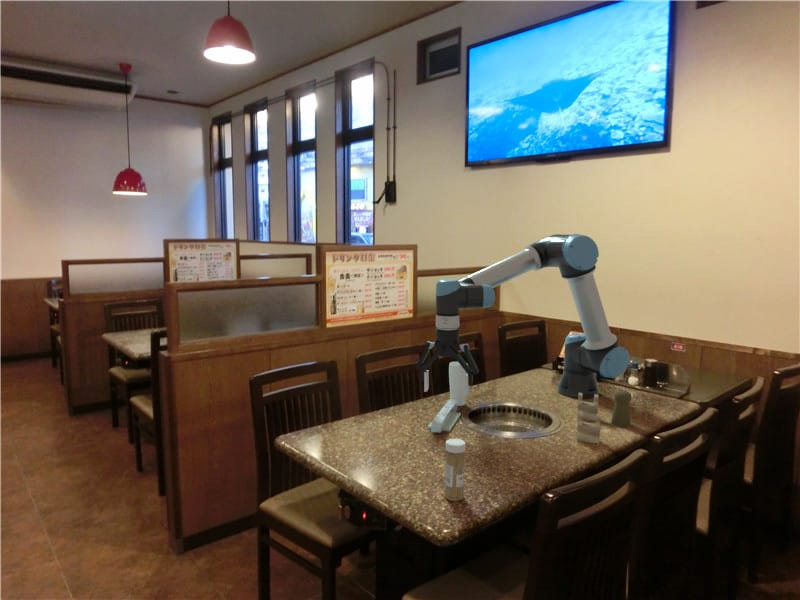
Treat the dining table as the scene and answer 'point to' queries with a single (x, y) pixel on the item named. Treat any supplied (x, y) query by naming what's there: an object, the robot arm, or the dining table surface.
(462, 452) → the sprinkles bottle
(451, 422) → the sage board
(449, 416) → the steel rail
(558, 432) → the dining table surface
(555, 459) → the dining table surface
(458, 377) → the drinking glass
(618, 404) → the olive round-headed peg
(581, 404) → the hook stands
